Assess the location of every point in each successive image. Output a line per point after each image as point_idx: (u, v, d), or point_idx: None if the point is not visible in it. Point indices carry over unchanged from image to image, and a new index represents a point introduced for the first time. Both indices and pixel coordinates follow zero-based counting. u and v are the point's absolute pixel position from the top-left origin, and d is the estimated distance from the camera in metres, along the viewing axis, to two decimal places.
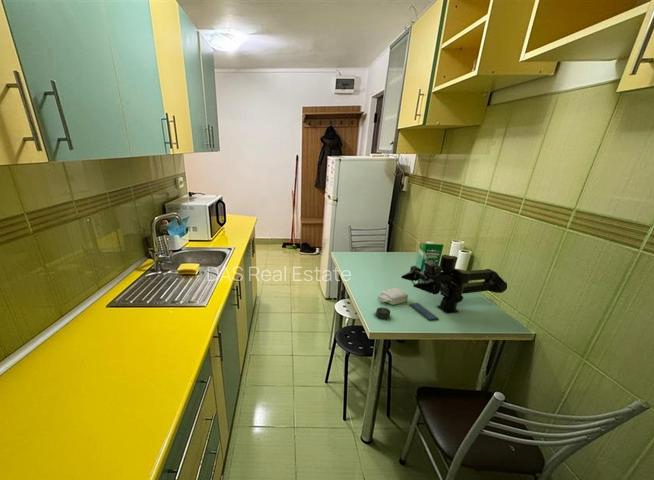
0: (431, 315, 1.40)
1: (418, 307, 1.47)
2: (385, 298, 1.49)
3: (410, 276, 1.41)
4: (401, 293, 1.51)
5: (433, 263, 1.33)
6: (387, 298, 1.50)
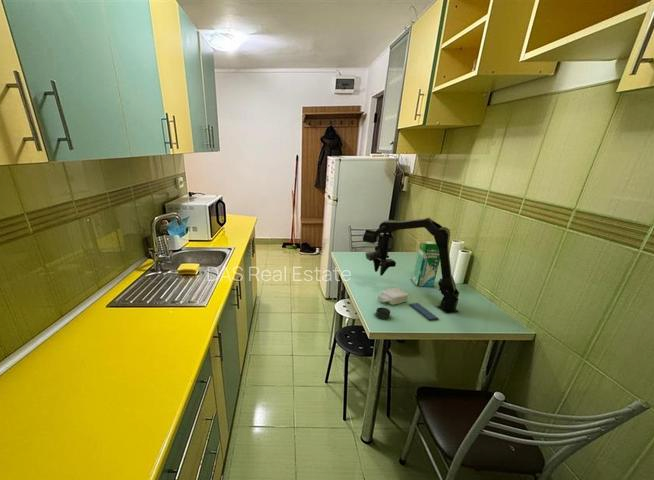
0: (431, 315, 1.40)
1: (418, 307, 1.47)
2: (385, 298, 1.49)
3: (377, 263, 1.62)
4: (401, 293, 1.51)
5: (368, 256, 1.54)
6: (387, 298, 1.50)
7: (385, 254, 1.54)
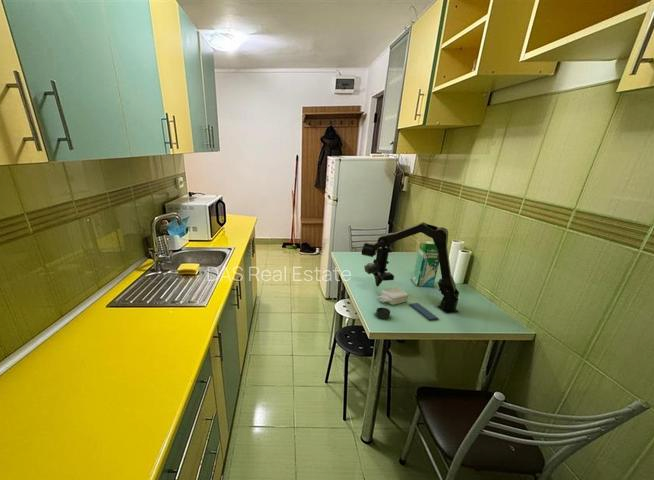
0: (431, 315, 1.40)
1: (418, 307, 1.47)
2: (385, 298, 1.49)
3: None
4: (401, 293, 1.51)
5: (367, 270, 1.57)
6: (387, 298, 1.50)
7: (383, 267, 1.56)
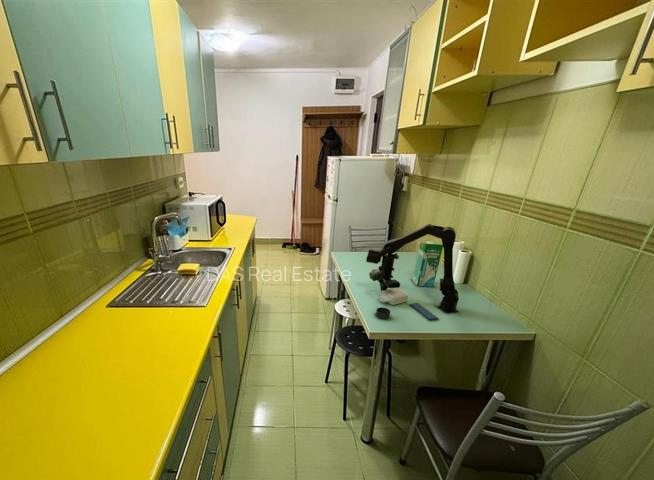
0: (431, 315, 1.40)
1: (418, 307, 1.47)
2: (385, 298, 1.49)
3: None
4: (401, 293, 1.51)
5: (372, 277, 1.52)
6: (387, 298, 1.49)
7: (389, 274, 1.52)
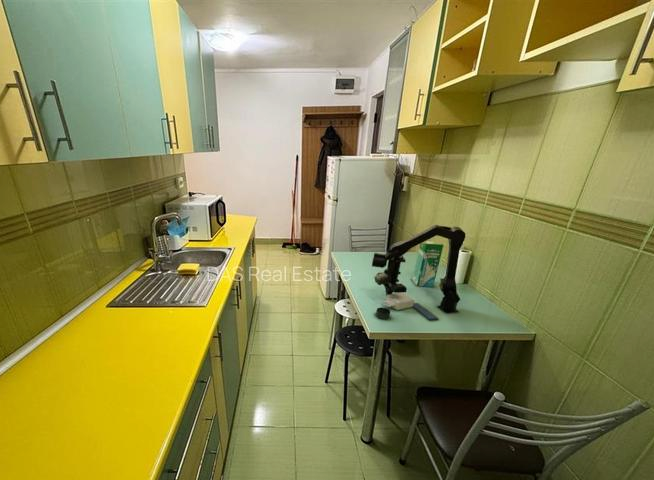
0: (431, 315, 1.40)
1: (418, 307, 1.47)
2: (390, 303, 1.45)
3: None
4: (407, 298, 1.47)
5: (377, 281, 1.47)
6: (392, 303, 1.45)
7: (395, 278, 1.47)
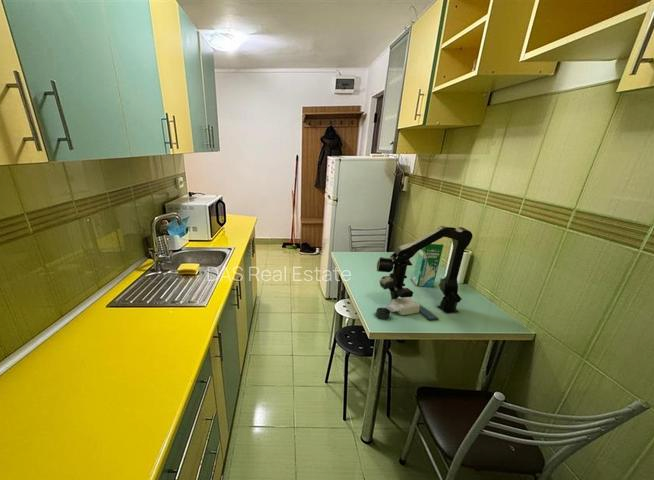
0: (431, 315, 1.40)
1: None
2: (394, 307, 1.41)
3: None
4: (413, 303, 1.42)
5: (382, 285, 1.43)
6: (396, 308, 1.41)
7: (401, 282, 1.42)
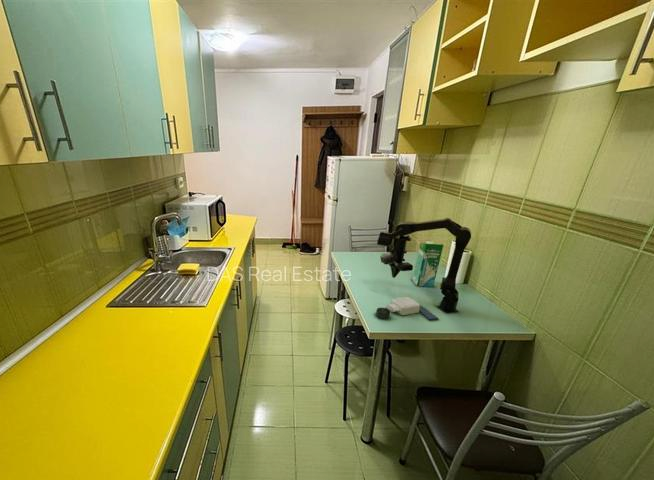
0: (431, 315, 1.40)
1: None
2: (394, 307, 1.41)
3: None
4: (413, 303, 1.42)
5: (383, 260, 1.47)
6: (396, 308, 1.41)
7: (401, 257, 1.47)
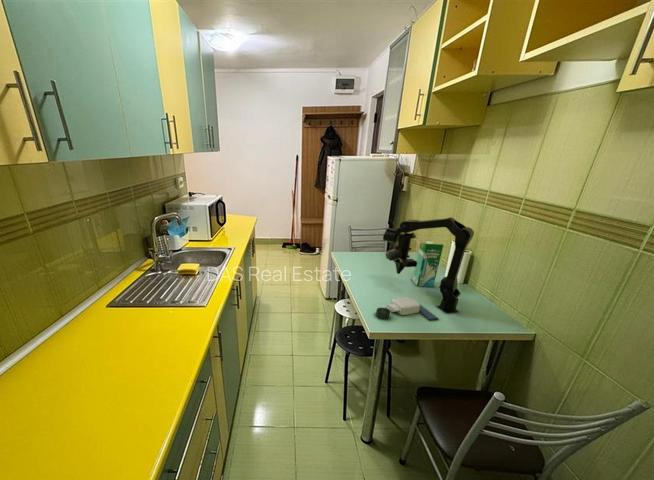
0: (431, 315, 1.40)
1: None
2: (394, 307, 1.41)
3: None
4: (413, 303, 1.42)
5: (388, 256, 1.52)
6: (396, 308, 1.41)
7: (406, 254, 1.52)
